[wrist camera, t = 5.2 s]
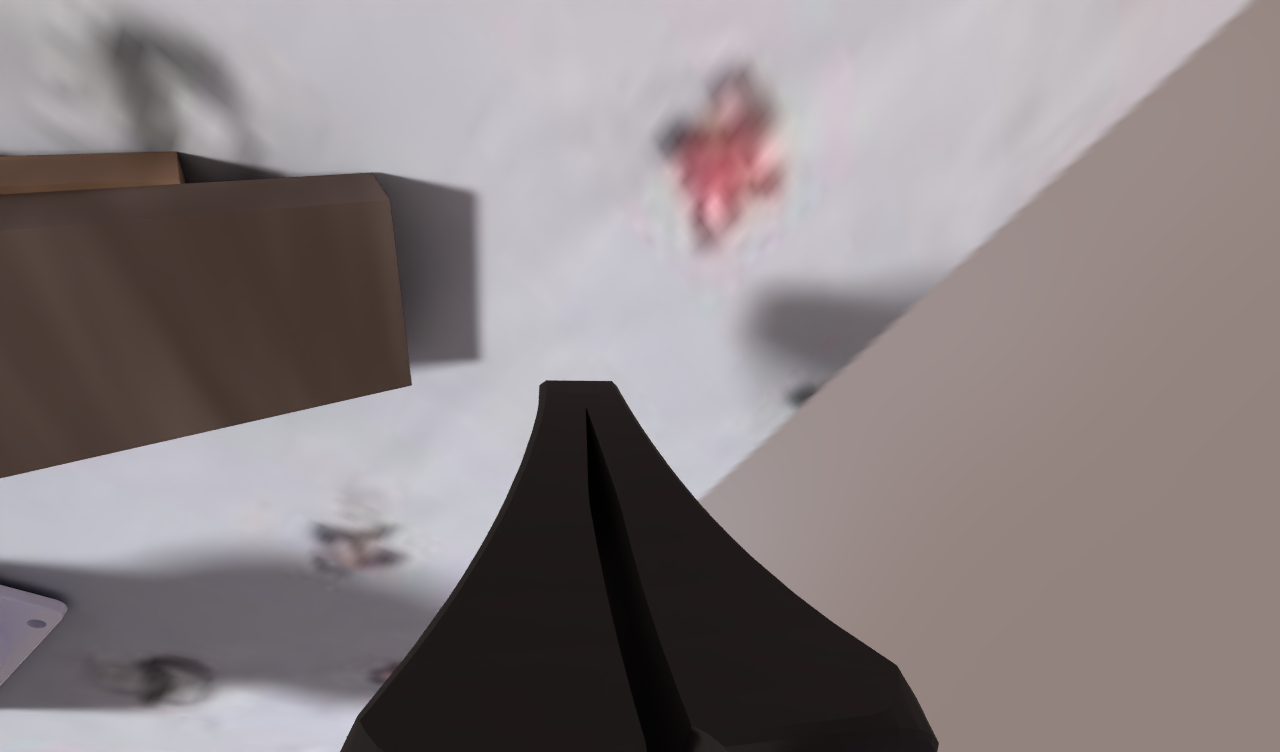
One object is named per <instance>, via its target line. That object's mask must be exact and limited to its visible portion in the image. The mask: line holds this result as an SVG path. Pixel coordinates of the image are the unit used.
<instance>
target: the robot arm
mask: <svg viewBox="0 0 1280 752" xmlns="http://www.w3.org/2000/svg"><path fill="white" fill-rule="evenodd" d="M67 609H68V608H67V606H66V605H65V604H64V603H63V602H61V601H58V600H56V599H52V598H48V597H45V596H41V595H37V594H33V593H30V592H26V591H22V590H19V589H15V588H11V587H7V586H4V585H0V686H1V685H2V683H3V682H4V681H5V680H6V679H7V678H8V677H9V676H10V675H11V674H12V673H13V672H14V671H15V669H16V668H17V667H18V666H19V665H20V664H21V663H22V662H23V661H24V660H25V659H26V658H27V657H28V655H29V654H30V653H31V652H32V651H33V650H34V649H35V648H36V647H37V646H38V645H39V644H40V643H41V641H42V640H43V639H44V638H45V637H46V636H47V635H48V634H49V633H50V632H51V631H52V630H53V629H54V627H55V626H56V625H57V624H58V623H59V622H60V621H61V620H62V618H63V617H64V615H65V614H66V612H67ZM938 745H939V743H938V741H937V739H936V737H935V735H934V733H933V731H932V729H931V727H930V725H929V723H928V721H927V719H926V717H925V714H924V712H923V710H922V708H921V706H920V704H919V702H918V700H917V698H916V697H915V695H914V693H913V691H912V690H911V688H910V686H909V685H908V683H907V682H906V680H905V678H904V677H903V675H902V673H901V671H900V670H899V668H898V666H897V665H895V664H894V663H892V662H891V661H889V660H888V659H886V658H885V657H884V656H882V655H880V654H879V653H877V652H876V651H875V650H873V649H872V648H870V647H869V646H867V645H865V644H864V643H863V642H861V641H860V640H858V639H857V638H855V637H854V636H852V635H851V634H849V633H848V632H846V631H845V630H843V629H842V628H840V627H839V626H837V625H836V624H834V623H833V622H832V621H830V620H829V619H828V618H826V617H825V616H824V615H822V614H821V613H820V612H818V611H817V610H816V609H814V608H813V607H812V606H810V605H809V604H808V603H806V602H805V601H804V600H803V599H801V598H800V597H798V596H797V595H796V594H795V593H794V592H792V591H791V590H790V589H788V588H787V587H786V586H785V585H784V584H783V583H782V582H781V581H779V580H778V579H777V578H776V577H775V576H773V575H772V574H771V573H770V572H769V571H768V570H767V569H765V568H764V567H763V566H762V565H761V564H760V563H758V562H757V561H756V560H755V559H754V558H753V557H751V556H750V555H749V554H748V553H747V552H746V551H745V550H744V549H743V548H742V547H741V546H740V545H739V544H738V543H737V542H736V541H735V540H734V539H733V538H732V537H731V536H730V535H729V534H728V533H727V532H726V531H725V530H724V529H723V528H722V527H721V526H720V525H719V524H718V523H717V522H716V521H715V520H714V519H713V518H712V517H711V516H710V515H709V513H708V512H707V511H706V510H705V509H704V508H703V507H702V506H701V504H700V503H699V502H698V501H697V500H696V499H695V498H694V496H693V495H692V494H691V493H690V491H689V490H688V489H687V488H686V487H685V485H684V484H683V483H682V482H681V481H680V479H679V478H678V477H677V476H676V474H675V473H674V472H673V470H672V469H671V468H670V467H669V465H668V464H667V463H666V461H665V460H664V458H663V457H662V456H661V454H660V453H659V452H658V450H657V449H656V447H655V446H654V445H653V443H652V442H651V440H650V439H649V438H648V436H647V435H646V433H645V432H644V430H643V429H642V427H641V426H640V424H639V422H638V421H637V419H636V418H635V416H634V415H633V413H632V411H631V410H630V408H629V407H628V405H627V403H626V402H625V400H624V398H623V396H622V395H621V393H620V391H619V389H618V387H617V386H616V385H615V384H614V383H613V382H612V381H547V380H546V381H545V382H543V383H542V384H541V385H540V386H539V405H538V411H537V415H536V419H535V423H534V427H533V431H532V434H531V437H530V440H529V442H528V445H527V448H526V451H525V454H524V457H523V460H522V462H521V465H520V467H519V470H518V472H517V474H516V477H515V479H514V481H513V483H512V486H511V488H510V490H509V493H508V495H507V497H506V499H505V501H504V503H503V505H502V507H501V509H500V511H499V514H498V515H497V517H496V519H495V521H494V523H493V525H492V527H491V529H490V531H489V532H488V534H487V536H486V538H485V540H484V542H483V543H482V545H481V547H480V548H479V550H478V552H477V553H476V555H475V557H474V558H473V560H472V562H471V563H470V565H469V567H468V568H467V570H466V572H465V573H464V575H463V576H462V578H461V580H460V581H459V583H458V584H457V586H456V587H455V589H454V590H453V592H452V593H451V595H450V596H449V598H448V599H447V601H446V602H445V603H444V605H443V606H442V608H441V609H440V610H439V612H438V613H437V615H436V616H435V617H434V619H433V620H432V622H431V623H430V624H429V626H428V627H427V629H426V630H425V631H424V633H423V634H422V636H421V637H420V638H419V640H418V641H417V643H416V644H415V645H414V647H413V648H412V649H411V651H410V652H409V653H408V654H407V656H406V657H405V658H404V660H403V661H402V662H401V663H400V665H399V666H398V667H397V668H396V669H395V671H394V672H393V673H392V674H391V676H390V677H389V678H388V679H387V680H386V682H385V683H384V684H383V685H382V687H381V688H380V689H379V690H378V691H377V693H376V694H375V695H374V696H373V698H372V699H371V700H370V701H369V702H368V704H367V705H366V706H365V707H364V709H363V710H362V711H361V712H360V714H359V715H358V716H357V718H356V720H355V722H354V724H353V726H352V728H351V730H350V732H349V734H348V736H347V739H346V741H345V743H344V745H343V747H342V749H341V751H340V752H937V750H938Z"/></svg>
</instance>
